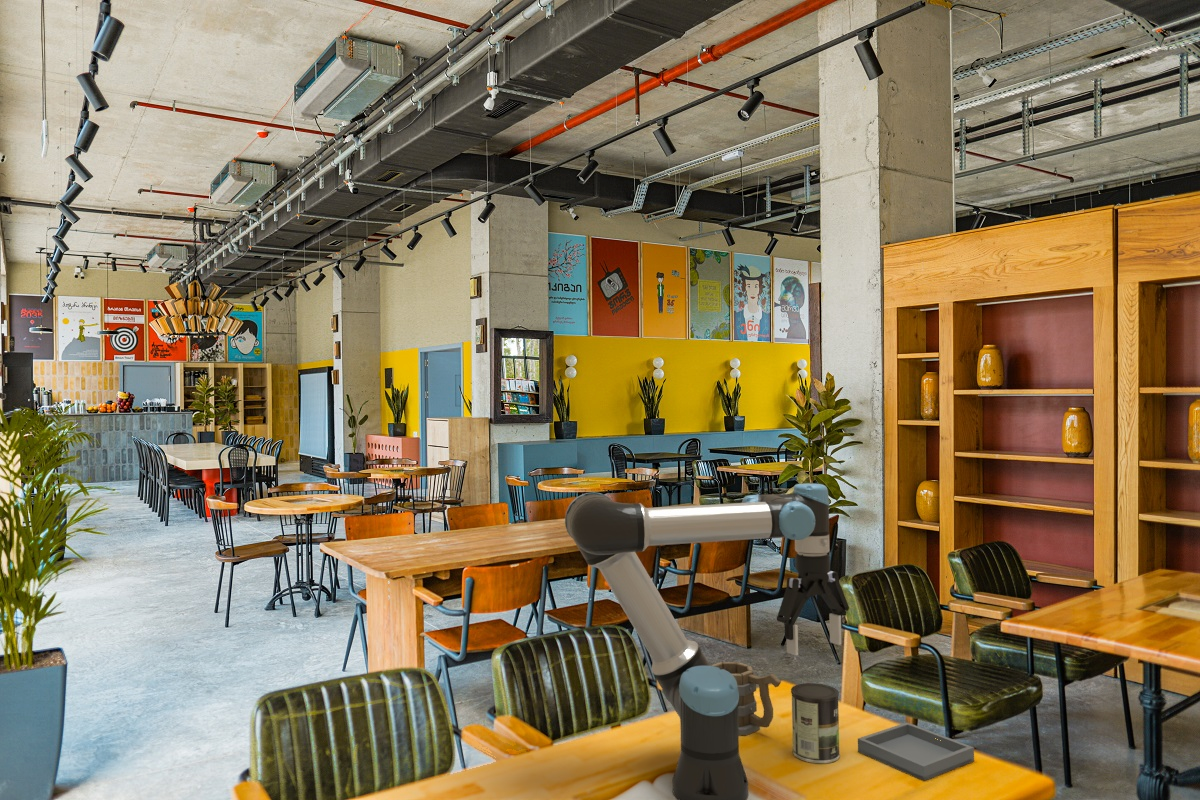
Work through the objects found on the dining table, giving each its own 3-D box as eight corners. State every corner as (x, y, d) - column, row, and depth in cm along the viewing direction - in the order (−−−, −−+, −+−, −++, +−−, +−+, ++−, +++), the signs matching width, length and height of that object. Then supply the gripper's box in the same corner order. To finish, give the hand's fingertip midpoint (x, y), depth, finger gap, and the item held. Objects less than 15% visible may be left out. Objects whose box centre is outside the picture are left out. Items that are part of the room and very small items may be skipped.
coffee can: (837, 746, 182) (836, 683, 182) (842, 765, 172) (840, 699, 172) (791, 742, 184) (790, 681, 184) (792, 762, 174) (791, 697, 174)
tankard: (695, 725, 195) (694, 663, 196) (728, 711, 204) (727, 652, 204) (762, 750, 180) (761, 683, 181) (794, 734, 189) (793, 670, 189)
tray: (924, 781, 164) (923, 766, 164) (857, 751, 179) (857, 738, 179) (974, 761, 173) (973, 747, 173) (907, 735, 188) (907, 722, 188)
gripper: (783, 561, 169) (785, 662, 169) (863, 549, 182) (865, 643, 182) (759, 556, 176) (761, 654, 175) (838, 545, 189) (840, 635, 188)
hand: (814, 648), depth 179 cm, fingers open, 13 cm apart
